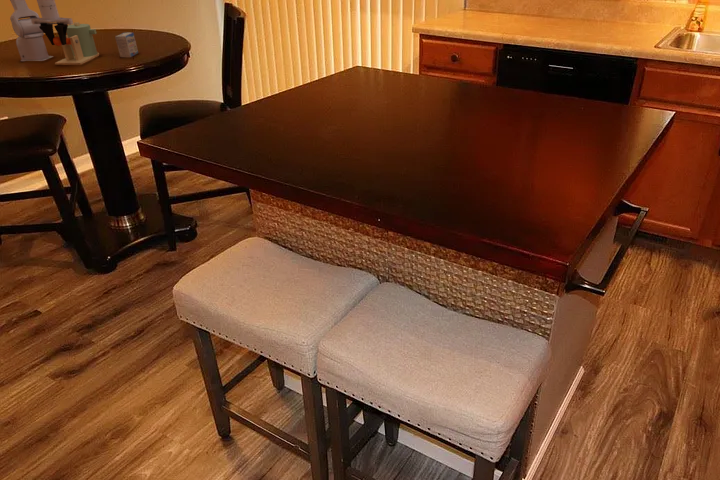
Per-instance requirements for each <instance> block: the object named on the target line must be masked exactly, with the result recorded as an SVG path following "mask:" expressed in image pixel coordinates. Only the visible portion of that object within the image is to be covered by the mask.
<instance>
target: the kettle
mask: <svg viewBox="0 0 720 480" xmlns="http://www.w3.org/2000/svg"><path fill="white" fill-rule="evenodd" d="M97 34H98V31H97V29H96V28H94V29H93V28H91V24H89V23H80V21H76V22H73V24H71V25H68V28H67V32H66V35H67V36H68V38H70V37H72V36H75V35H78V39H79V42H80V46H81V49H82V53H83V56H84V57H87V56H95V58H97V57H99V56H100V53H99V52H98V50H97V47H96V43H95V39H94V36H93V35H97ZM70 46H71V49H72V52H73V56H74V57H75V55H74V51H73V48H72V45H70Z"/></svg>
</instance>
